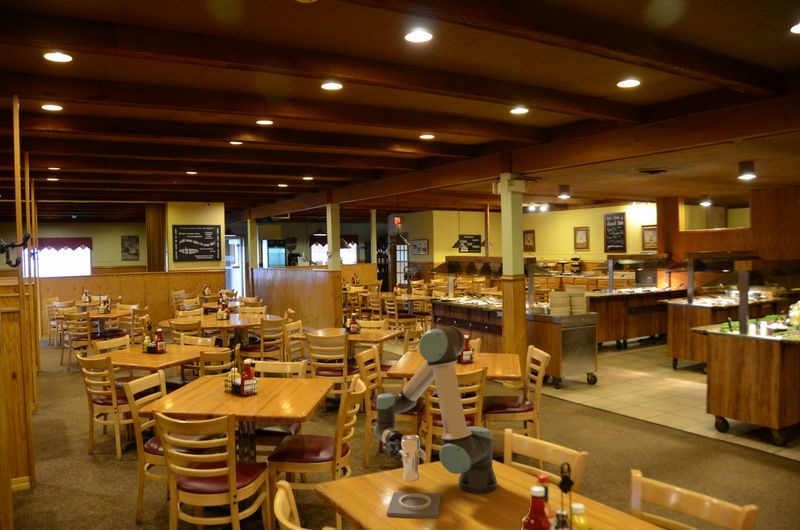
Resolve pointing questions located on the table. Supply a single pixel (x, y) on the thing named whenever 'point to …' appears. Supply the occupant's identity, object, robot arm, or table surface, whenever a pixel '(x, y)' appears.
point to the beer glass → (411, 457)
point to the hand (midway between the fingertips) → (415, 458)
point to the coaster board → (414, 505)
